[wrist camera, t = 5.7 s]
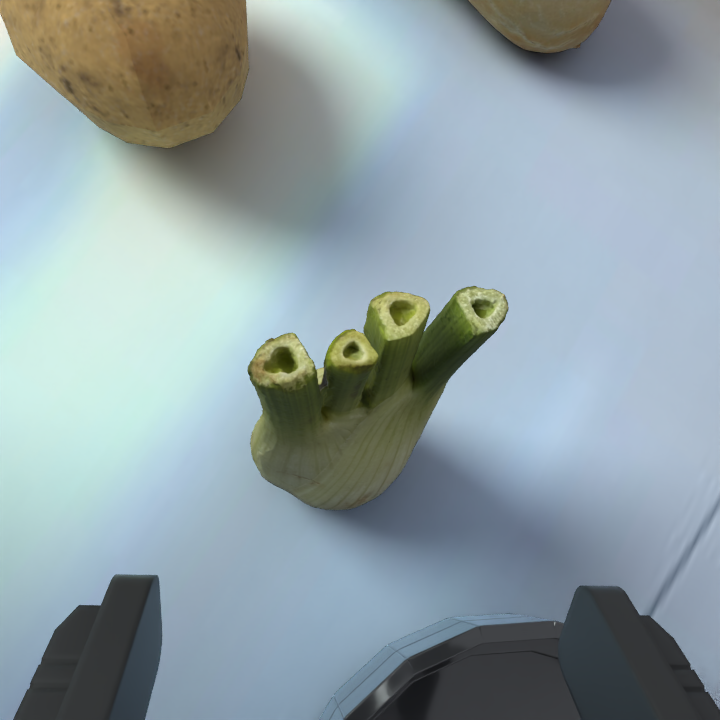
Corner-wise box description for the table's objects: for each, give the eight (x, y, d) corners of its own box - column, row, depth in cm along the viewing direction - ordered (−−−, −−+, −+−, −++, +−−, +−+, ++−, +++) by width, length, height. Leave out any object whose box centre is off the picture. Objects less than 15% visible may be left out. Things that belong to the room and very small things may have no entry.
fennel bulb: (412, 403, 24) (523, 258, 13) (399, 526, 23) (514, 480, 11) (271, 379, 24) (261, 209, 13) (247, 503, 22) (211, 432, 11)
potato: (78, 232, 25) (-9, 88, 18) (13, -11, 29) (-81, -213, 22) (298, 179, 27) (305, 32, 20) (211, -40, 31) (189, -232, 24)
